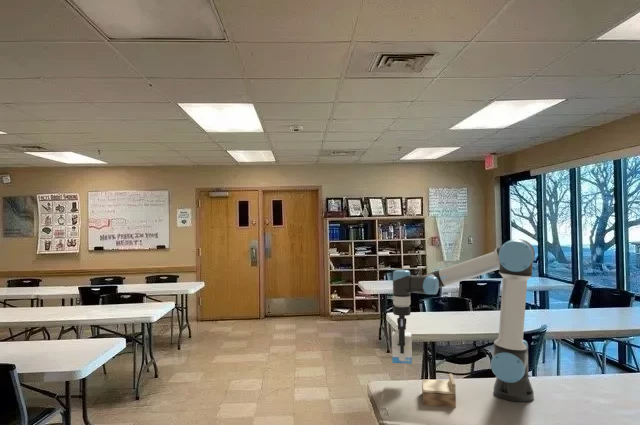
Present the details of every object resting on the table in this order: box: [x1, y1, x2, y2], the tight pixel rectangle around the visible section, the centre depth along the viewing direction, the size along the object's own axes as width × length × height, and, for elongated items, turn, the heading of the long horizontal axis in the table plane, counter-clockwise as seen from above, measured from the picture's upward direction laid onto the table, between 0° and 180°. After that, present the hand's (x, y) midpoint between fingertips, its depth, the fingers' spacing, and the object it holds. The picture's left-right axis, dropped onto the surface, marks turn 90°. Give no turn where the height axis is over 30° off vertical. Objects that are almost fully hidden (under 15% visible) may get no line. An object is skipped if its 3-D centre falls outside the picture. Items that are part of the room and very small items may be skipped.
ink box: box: [391, 328, 413, 365], centre depth 186 cm, size 9×8×13 cm
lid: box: [421, 373, 457, 395], centre depth 169 cm, size 12×12×4 cm
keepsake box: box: [421, 383, 457, 408], centre depth 169 cm, size 12×12×5 cm
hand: (402, 357), depth 186 cm, fingers closed on ink box, 8 cm apart
